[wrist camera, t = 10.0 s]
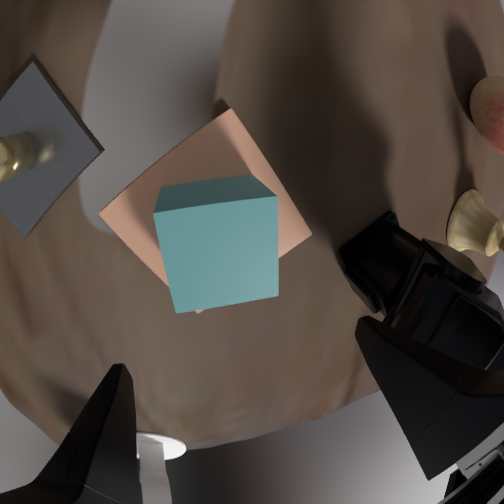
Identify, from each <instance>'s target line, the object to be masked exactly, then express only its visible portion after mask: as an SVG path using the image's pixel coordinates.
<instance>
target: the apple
mask: <svg viewBox="0 0 504 504" xmlns="http://www.w3.org/2000/svg"><path fill="white" fill-rule="evenodd" d="M469 104H470V111H471V116H472V119H473V122H474V124H475V126H476V128H477V130H478V131H479V133H480V134H481V136H482V137H483V138H484V139H485V140H486V142H487V143H488V144H489V145H490V146H491V147H492V148H494V149H495V150H496V151H498V152H499V153H500V154H502V155H504V77H501V76H491V77H486V78H484V79H482V80H480V81H479V82H478V83H477V84H476V86H475V87H474V89H473V91H472V93H471V96H470V103H469Z"/></svg>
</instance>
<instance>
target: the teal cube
mask: <svg viewBox="0 0 504 504" xmlns="http://www.w3.org/2000/svg"><path fill="white" fill-rule="evenodd" d="M153 216H154V221H155V226H156V231H157V236H158V241H159V245H160V250H161V254H162V259H163V263H164V267H165V272H166V276H167V280H168V284H169V288H170V292H171V296H172V300H173V303H174V307H175V311H176V313H183V312H189V311H196V310H202V309H208V308H214V307H220V306H226V305H232V304H237V303H243V302H248V301H254V300H259V299H264V298H269V297H275V296H278V198H277V195H276V194H275V193H273V192H272V191H271V190H270V189H269V188H268V187H266V186H265V185H264V184H263V183H262V182H261V181H259V180H258V179H257V178H256V177H255V176H254V175H245V176H236V177H227V178H219V179H211V180H203V181H196V182H189V183H182V184H176V185H170V186H164V187H161V189H160V192H159V195H158V198H157V202H156V205H155V208H154V212H153Z"/></svg>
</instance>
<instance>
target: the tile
mask: <svg viewBox="0 0 504 504" xmlns="http://www.w3.org/2000/svg"><path fill="white" fill-rule="evenodd" d="M245 175H254V176H255V177H256V178H257V179H258V180H259V181H261V182H262V183H263V184H264V185H265V186H266V187H268V188H269V189H270V190H271V191H272V192H273V193H275V194H276V195H277V198H278V258H280V257H281V256H282V255H284V254H285V253H287V252H288V251H289V250H291V249H292V248H294V247H295V246H297V245H298V244H299V243H301V242H302V241H304V240H305V239H306V238H308V237H309V236H311V235H312V233H311V231H310V230H309V228H308V226H307V224H306V223H305V221H304V219H303V218H302V216H301V214H300V213H299V211H298V209H297V208H296V206H295V204H294V203H293V201H292V200H291V198H290V196H289V195H288V193H287V192H286V190H285V188H284V187H283V185H282V184H281V182H280V180H279V179H278V177H277V176H276V174H275V173H274V171H273V169H272V168H271V166H270V165H269V163H268V162H267V160H266V159H265V157H264V156H263V154H262V153H261V151H260V150H259V148H258V146H257V145H256V144H255V142H254V141H253V139H252V138H251V136H250V135H249V133H248V132H247V130H246V129H245V127H244V126H243V124H242V123H241V122H240V120H239V119H238V117H237V116H236V114H235V113H234V112H233V110H232V109H231V108H230V109H228V110H226V111H225V112H223V113H222V114H220V115H219V116H217V117H216V118H214V119H213V120H212V121H210V122H209V123H207V124H206V125H204V126H203V127H202V128H200V129H199V130H197V131H196V132H194V133H193V134H192V135H190V136H189V137H188V138H186V139H185V140H184V141H182V142H181V143H180V144H178V145H177V146H176V147H174V148H173V149H172V150H171V151H169V152H168V153H167V154H165V155H164V156H163V157H162V158H160V159H159V160H158V161H157V162H155V163H154V164H153V165H152V166H150V167H149V168H148V169H147V170H146V171H144V172H143V173H142V174H141V175H140V176H139V177H137V178H136V179H135V180H134V181H133V182H132V183H131V184H129V185H128V186H127V187H126V188H125V189H124V190H123V191H122V192H120V193H119V194H118V195H117V196H116V197H115V198H114V199H113V200H112V201H111V202H110V203H109V204H108V205H107V206H105V208H103V209H102V210H101V212H100V213H99V215H100V216H101V217H102V218H103V219H104V221H105V222H106V223H107V224H108V225H109V226H110V227H111V228H112V229H113V230H114V232H115V233H116V234H117V235H118V236H119V237H120V238H121V239H122V240H123V241H124V242H125V243H126V244H127V245H128V246H129V247H130V249H131V250H132V251H133V252H134V253H135V254H136V255H137V256H138V257H139V258H140V259H141V260H142V261H143V262H144V263H145V264H146V265H147V266H148V267H149V268H150V269H151V270H152V271H153V272H154V273H155V274H156V275H157V276H158V277H159V278H160V279H161V280H162V281H163V282H164V283H165V284H166V285H168V286H169V284H168V280H167V276H166V272H165V267H164V263H163V259H162V254H161V250H160V245H159V241H158V236H157V231H156V226H155V221H154V216H153V212H154V208H155V205H156V202H157V198H158V195H159V192H160V189H161V187H164V186H170V185H176V184H182V183H189V182H196V181H203V180H211V179H219V178H227V177H236V176H245ZM203 310H204V309H202V310H196V311H195V312H197V313H200V312H201V311H203Z"/></svg>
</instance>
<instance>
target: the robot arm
mask: <svg viewBox="0 0 504 504" xmlns="http://www.w3.org/2000/svg"><path fill="white" fill-rule="evenodd" d="M391 215H392V216H391ZM390 217H391V218H390ZM345 251H346V252H345ZM344 252H345V253H344ZM343 253H344V254H343ZM339 256H340V258H341V260H342V261H343V263H344V265H345V267H346V270H345V272H344V274H345V276H346V278H347V280H348V282H349V284H350V286H351V288H352V289H353V291H354V292H355V293H356V294H357V295H358V296H359V297H360V299H361V300H362V301H363V302H364V303H365V304H366V305H367V307H368V308H369V309H370V310H371V311H372V312H373V313H375V314H377V313H378V312H379V311H380V312H381V313H382V314H383V315H384V316H385V318H384V320H383V321H382V322H381V321H379V320H377V319H375V318H373V317H371V316H364V317H361V318H359V319H358V322H357V326H356V330H355V337H356V340H357V342H358V344H359V347H360V349H361V351H362V354H363V356H364V358H365V361H366V363H367V365H368V367H369V369H370V371H371V373H372V375H373V377H374V378H375V380H376V382H377V384H378V386H379V387H380V389H381V391H382V393H383V394H384V396H385V398H386V400H387V402H388V404H389V406H390V407H391V409H392V411H393V413H394V415H395V416H396V419H397V421H398V422H399V424H400V426H401V428H402V430H403V432H404V434H405V436H406V437H407V440H408V442H409V443H410V446H411V448H412V449H413V452H414V454H415V456H416V458H417V460H418V462H419V464H420V466H421V468H422V470H423V472H424V474H425V476H426V478H427V480H428V481H429V480H431V479H432V478H434V477H436V476H437V475H439V474H440V473H442V472H443V471H445V470H446V469H448V468H449V467H450V466H452V465H453V464H455V463H456V464H457V466H458V469H457V470H455V471H454V472H453V473H452V474H450V478H449V482H448V485H447V489H446V492H445V496H444V499H443V500H442V501H440V502H439V503H438V504H504V309H503V306H502V304H501V301H500V299H499V297H498V296H497V295H496V294H495V293H494V292H492V291H491V290H490V289H488V288H487V287H486V286H485V285H486V283H487V280H486V279H485V277H484V276H483V275H482V273H481V272H480V271H479V269H478V268H477V267H476V265H475V264H474V263H473V261H472V260H471V259H470V258H468V257H467V256H465V255H464V254H462V253H460V252H459V251H457V250H456V249H454V248H452V247H450V246H447V245H444V244H441V243H437V242H434V241H431V240H427V239H424V238H422V241H421V240H419V239H418V238H416V237H415V236H413V235H412V234H410V233H409V232H407V231H405V230H404V229H402V228H401V227H400V226H399V223H398V219H397V216H396V214H395V213H394V212H392V211H389V212H387V213H386V214H385V215H383V216H382V217H381V218H380V219H378V220H377V221H376V222H374V223H373V224H372V225H370V226H369V227H368V228H366V229H365V230H364V231H363V232H361V233H360V234H359V235H357V236H356V237H355V238H353V239H352V240H351V241H349V242H348V243H347V244H345V245H344V246H342V247H341V248H340V250H339ZM0 504H140V495H139V483H138V468H137V441H136V410H135V401H134V389H133V380H132V377H131V375H130V373H129V371H128V370H127V368H126V366H125V365H124V364H123V363H119V364H113V365H112V366H111V368H110V369H109V371H108V372H107V374H106V375H105V377H104V378H103V380H102V381H101V383H100V384H99V386H98V387H97V389H96V390H95V392H94V393H93V395H92V396H91V398H90V399H89V401H88V402H87V404H86V405H85V407H84V409H83V410H82V412H81V413H80V415H79V416H78V418H77V419H76V421H75V423H74V424H73V426H72V427H71V429H70V432H68V434H67V435H66V437H65V439H64V440H63V442H62V443H61V445H60V446H59V448H58V449H57V451H56V452H55V453H54V455H53V456H52V458H51V459H50V460H49V461H48V463H47V464H46V466H45V467H44V468H43V469H42V471H41V472H40V473H39V475H38V476H37V477H36V478H35V479H34V480H33V481H32V482H31V483H29V484H27V485H25V486H22V487H19V488H16V489H13V490H10V491H7V492H4V493H1V494H0Z"/></svg>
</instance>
